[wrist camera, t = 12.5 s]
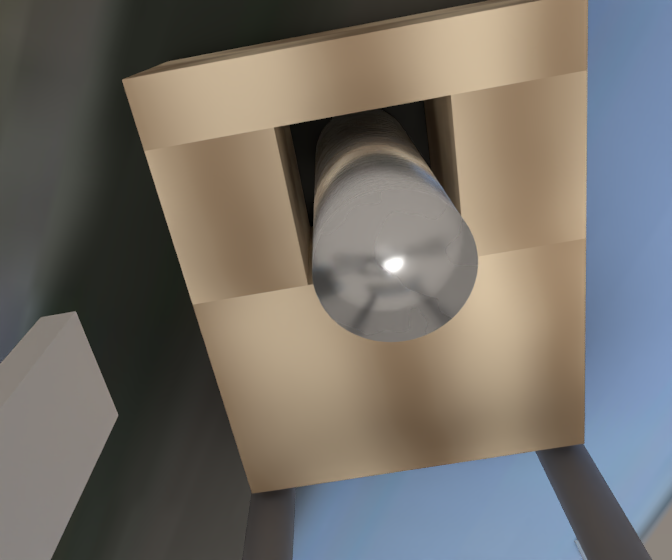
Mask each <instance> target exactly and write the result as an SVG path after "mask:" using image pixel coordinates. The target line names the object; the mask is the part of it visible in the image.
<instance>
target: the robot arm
mask: <svg viewBox="0 0 672 560" xmlns="http://www.w3.org/2000/svg"><path fill="white" fill-rule="evenodd" d="M117 417H118V413H117V410H116V408H115V406H114V403H113V401H112V398H111V396H110V393H109V391H108V389H107V386H106V384H105V381H104V379H103V376H102V374H101V371H100V369H99V367H98V364H97V362H96V359H95V357H94V354H93V352H92V350H91V347H90V345H89V342H88V340H87V337H86V335H85V332H84V330H83V328H82V325H81V323H80V320H79V318H78V315H77V313H76V311H74V312H68V313H63V314H57V315H51V316H46V317H41V318H40V319H39V320H38V321H37V322H36V323H35V324H34V326H33V327H32V328H31V329H30V330H29V331H28V333H27V334H26V335H25V336H24V337H23V338H22V339H21V341H20V342H19V343H18V344H17V345H16V346H15V348H14V349H13V350H12V351H11V352H10V353H9V354H8V356H7V357H6V358H5V359H4V360H3V361H2V363H1V364H0V560H51V558H52V556H53V553H54V551H55V549H56V547H57V545H58V543H59V541H60V539H61V536H62V534H63V532H64V530H65V528H66V526H67V524H68V522H69V519H70V517H71V515H72V513H73V511H74V509H75V507H76V505H77V502H78V500H79V498H80V496H81V494H82V492H83V490H84V487H85V485H86V483H87V481H88V479H89V477H90V475H91V473H92V470H93V468H94V466H95V464H96V462H97V460H98V458H99V456H100V453H101V451H102V449H103V447H104V445H105V443H106V441H107V439H108V436H109V434H110V432H111V430H112V428H113V426H114V424H115V422H116V419H117Z"/></svg>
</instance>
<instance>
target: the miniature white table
mask: <svg viewBox="0 0 672 560" xmlns="http://www.w3.org/2000/svg"><path fill="white" fill-rule="evenodd" d="M535 452H536V454H537V456H538V458H539V460H540V462H541V464H542V466H543V468H544V470H545V473H546V475H547V477H548V479H549V481H550V483H551V485H552V487H553V489H554V491H555V493H556V495H557V498H558V500H559V502H560V504H561V506H562V508H563V510H564V512H565V514H566V516H567V518H568V520H569V523H570V525H571V527H572V529H573V531H574V533H575V535H576V537H577V539H578V541H579V543H580V546H581V548H582V550H583V552H584V554H585V556H586V558H587V560H652V559H651V557H650V556H649V554H648V552H647V550H646V549H645V547H644V545H643V544H642V542H641V540H640V539H639V537H638V535H637V533H636V532H635V530H634V528H633V527H632V525H631V523H630V522H629V520H628V518H627V517H626V515H625V513H624V512H623V510H622V508H621V507H620V505H619V503H618V502H617V500H616V498H615V497H614V495H613V493H612V491H611V490H610V488H609V486H608V485H607V483H606V481H605V480H604V478H603V476H602V475H601V473H600V471H599V470H598V468H597V466H596V465H595V463H594V461H593V460H592V458H591V456H590V455H589V453H588V451H587V449H586V448H585V446H584V444H578V445H572V446H565V447H558V448H552V449H545V450H539V451H535ZM295 496H296V487H293V488H287V489H280V490H273V491H267V492H260V493H254V494H252V493H251V500H250V507H249V515H248V522H247V529H246V536H245V544H244V551H243V558H242V560H292V558H293V538H294V517H295Z"/></svg>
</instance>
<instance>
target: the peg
mask: <svg viewBox="0 0 672 560" xmlns="http://www.w3.org/2000/svg"><path fill="white" fill-rule="evenodd" d="M477 270H478V253H477V247H476V243H475V240H474V237H473V235H472V233H471V231H470V229H469V227H468V225H467V224H466V222H465V221H464V219H463V218H462V216H461V215H460V213H459V212H458V210H457V209H456V207H455V206H454V204H453V203H452V201H451V200H450V198H449V197H448V195H447V194H446V192H445V191H444V189H443V188H442V186H441V185H440V183H439V182H438V180H437V179H436V177H435V176H434V174H433V173H432V171H431V170H430V168H429V167H428V165H427V164H426V162H425V161H424V159H423V158H422V156H421V155H420V153H419V152H418V150H417V149H416V147H415V145H414V144H413V142H412V141H411V139H410V138H409V136H408V135H407V133H406V132H405V130H404V129H403V127H402V126H401V124H400V123H399V122H398V121H397V120H396V119H395V118H394V117H393V116H392V115H390V114H388V113H387V112H385V111H383V110H381V109H372V110H367V111H361V112H356V113H350V114H345V115H339V116H334V117H333V118H332V119H331V120H330V121H329V122H328V123H327V124H326V126H325V127H324V128H323V130H322V132H321V133H320V136H319V138H318V141H317V145H316V156H315V188H314V219H313V250H312V278H313V285H314V288H315V292H316V295H317V297H318V299H319V301H320V303H321V305H322V306H323V308H324V310H325V311H326V312H327V313H328V315H329V316H330V317H331V318H332V319H333V320H334V321H335V322H336V323H337V324H338V325H340V326H341V327H343V328H344V329H346V330H347V331H349V332H351V333H353V334H355V335H357V336H360V337H363V338H365V339H370V340H374V341H381V342H400V341H408V340H412V339H416V338H419V337H422V336H425V335H427V334H429V333H431V332H434V331H435V330H437V329H439V328H440V327H442V326H443V325H445V324H446V323H447V322H448V321H450V320H451V319H452V318H453V317H454V316H455V315H456V314H457V313H458V312H459V311H460V310H461V308H462V307H463V306H464V304H465V303H466V301H467V299H468V298H469V296H470V294H471V292H472V289H473V287H474V284H475V281H476V277H477Z"/></svg>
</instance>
